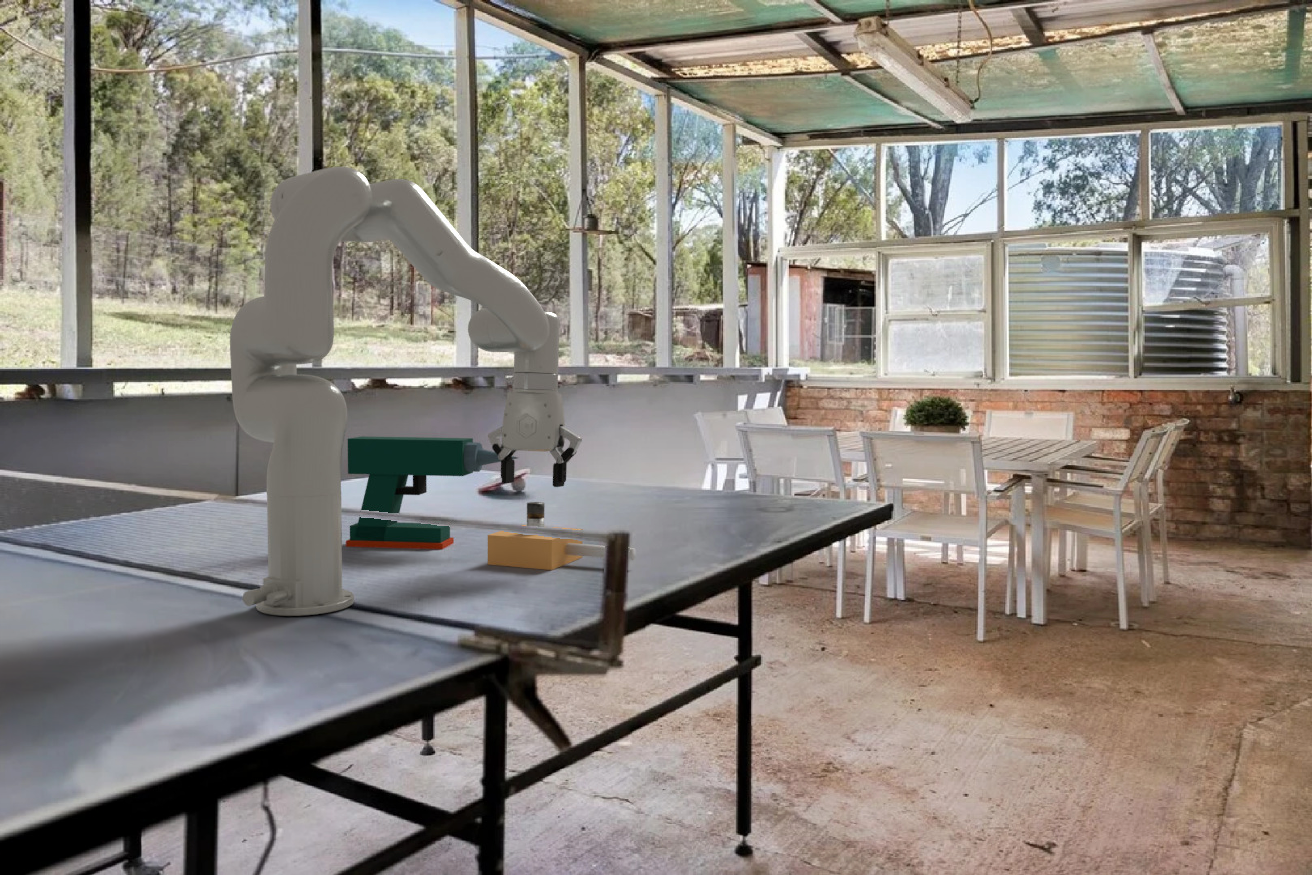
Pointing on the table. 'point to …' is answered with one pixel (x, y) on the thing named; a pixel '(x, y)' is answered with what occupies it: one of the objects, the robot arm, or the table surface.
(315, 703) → the table surface
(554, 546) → the chuck block
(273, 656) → the table surface
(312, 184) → the robot arm
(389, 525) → the power tool
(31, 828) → the table surface
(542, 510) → the silver capped bar
